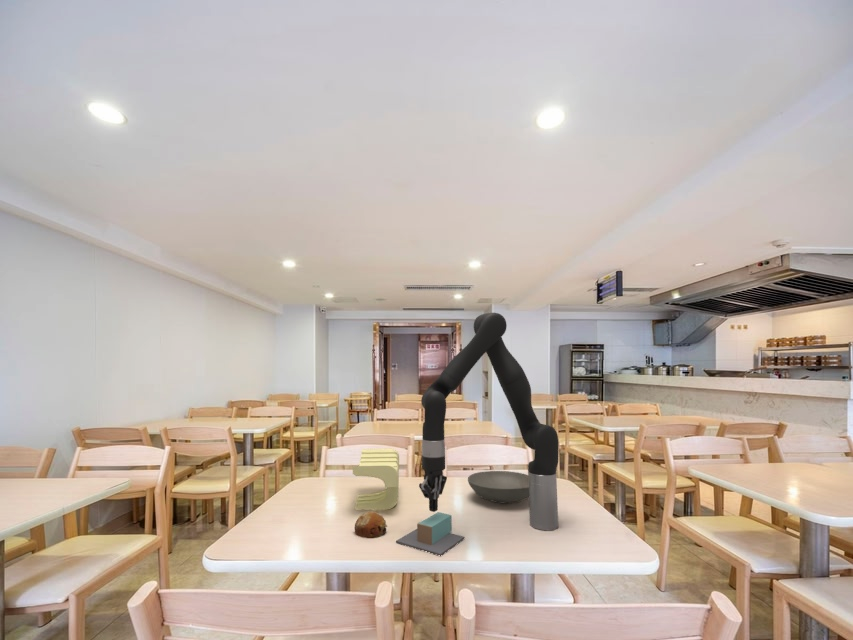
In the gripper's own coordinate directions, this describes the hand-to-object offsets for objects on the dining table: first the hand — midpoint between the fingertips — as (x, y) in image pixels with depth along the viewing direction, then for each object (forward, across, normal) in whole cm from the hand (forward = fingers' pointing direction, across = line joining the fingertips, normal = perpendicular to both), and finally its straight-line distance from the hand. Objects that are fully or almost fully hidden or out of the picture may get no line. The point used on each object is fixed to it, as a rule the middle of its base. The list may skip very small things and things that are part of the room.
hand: (433, 510), depth 128 cm
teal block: (+5, +6, 0) cm, 8 cm away
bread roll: (+9, -7, +19) cm, 22 cm away
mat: (+8, -2, 0) cm, 8 cm away
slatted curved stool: (+8, +15, +36) cm, 40 cm away
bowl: (+8, +46, -3) cm, 47 cm away
